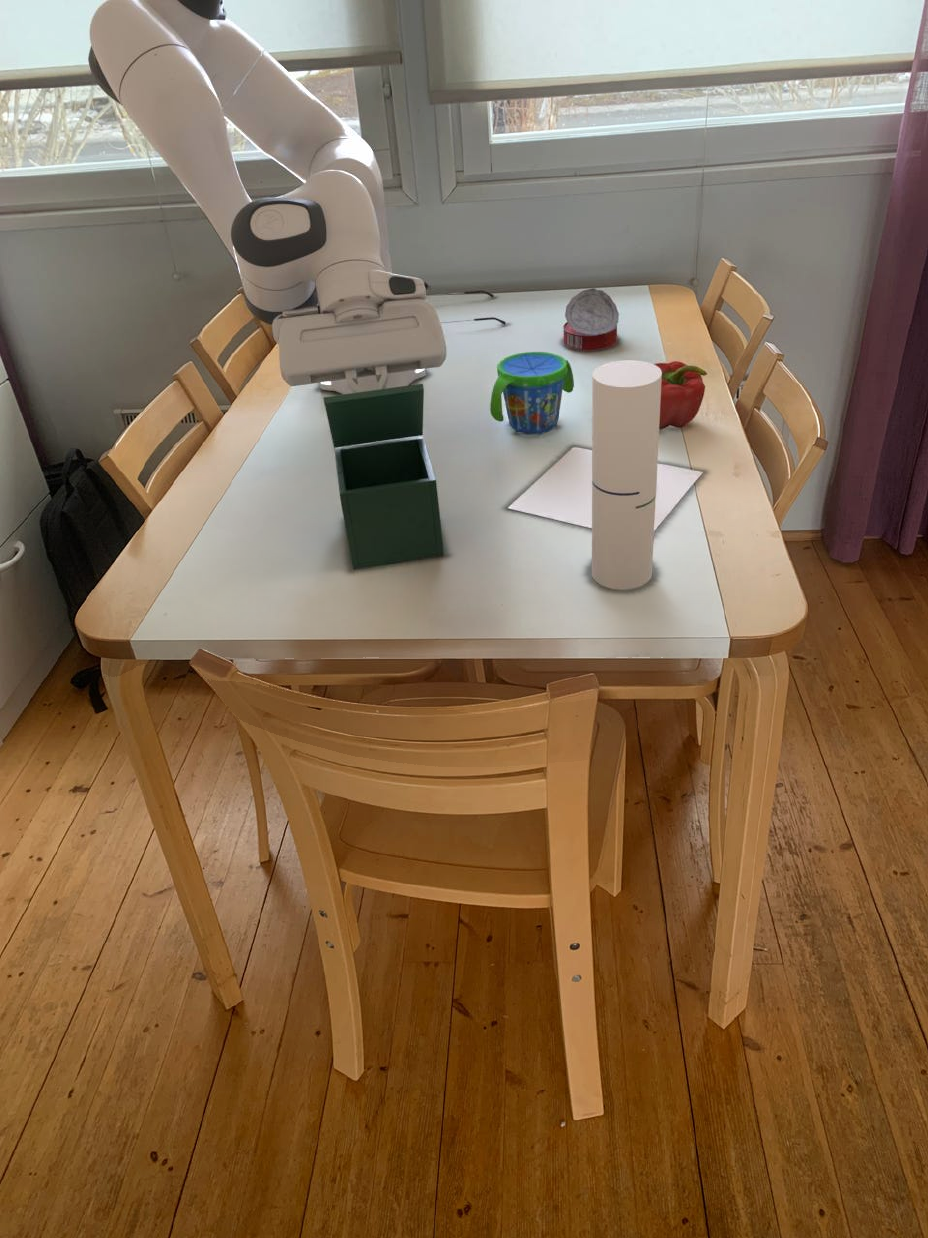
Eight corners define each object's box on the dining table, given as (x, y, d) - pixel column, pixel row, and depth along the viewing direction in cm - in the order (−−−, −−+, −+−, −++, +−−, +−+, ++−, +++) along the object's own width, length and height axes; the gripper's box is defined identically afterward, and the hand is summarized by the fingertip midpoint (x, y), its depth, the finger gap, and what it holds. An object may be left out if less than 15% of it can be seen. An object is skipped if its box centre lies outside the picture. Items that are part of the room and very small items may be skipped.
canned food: (613, 358, 178) (639, 314, 171) (590, 372, 171) (616, 326, 164) (567, 324, 180) (591, 278, 173) (542, 336, 173) (566, 289, 166)
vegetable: (719, 420, 143) (725, 357, 137) (682, 445, 137) (686, 380, 132) (658, 404, 150) (661, 342, 144) (620, 427, 144) (622, 364, 138)
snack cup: (552, 401, 153) (551, 340, 147) (594, 422, 146) (594, 359, 140) (473, 429, 147) (469, 367, 141) (513, 452, 140) (510, 388, 134)
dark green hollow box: (444, 555, 118) (436, 480, 112) (352, 570, 117) (339, 494, 111) (430, 507, 128) (422, 435, 122) (346, 520, 127) (334, 448, 121)
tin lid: (423, 389, 109) (422, 383, 109) (324, 403, 108) (323, 396, 108) (422, 435, 122) (421, 429, 122) (334, 448, 121) (333, 442, 121)
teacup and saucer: (638, 505, 124) (639, 478, 122) (584, 493, 128) (584, 466, 126) (664, 476, 130) (665, 450, 128) (611, 466, 134) (612, 439, 132)
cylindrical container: (586, 559, 115) (586, 364, 100) (643, 553, 115) (652, 357, 100) (598, 592, 109) (599, 390, 94) (658, 585, 109) (669, 382, 95)
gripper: (266, 299, 111) (281, 409, 109) (436, 278, 113) (454, 385, 111) (273, 324, 117) (288, 428, 115) (434, 303, 119) (452, 406, 117)
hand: (371, 407), depth 113 cm, fingers closed
